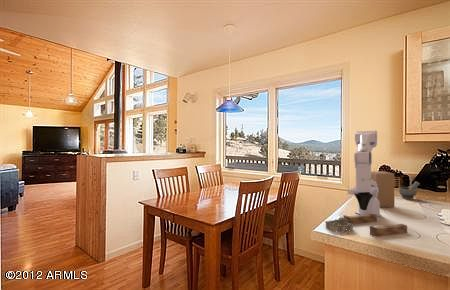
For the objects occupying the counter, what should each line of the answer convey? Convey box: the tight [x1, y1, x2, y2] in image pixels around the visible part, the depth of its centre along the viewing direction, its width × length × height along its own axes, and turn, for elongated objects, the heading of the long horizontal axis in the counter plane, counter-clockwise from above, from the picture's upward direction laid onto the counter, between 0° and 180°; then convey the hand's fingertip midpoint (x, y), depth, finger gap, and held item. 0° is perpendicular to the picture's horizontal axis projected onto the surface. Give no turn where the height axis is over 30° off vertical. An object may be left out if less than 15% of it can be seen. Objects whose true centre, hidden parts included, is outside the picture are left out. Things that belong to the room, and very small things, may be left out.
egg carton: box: [324, 217, 355, 232], centre depth 101 cm, size 11×8×4 cm
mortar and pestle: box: [397, 181, 421, 201], centre depth 152 cm, size 11×9×12 cm
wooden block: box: [371, 170, 395, 208], centre depth 137 cm, size 10×10×20 cm
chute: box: [343, 214, 408, 237], centre depth 102 cm, size 17×17×4 cm
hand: (363, 209), depth 100 cm, fingers closed
